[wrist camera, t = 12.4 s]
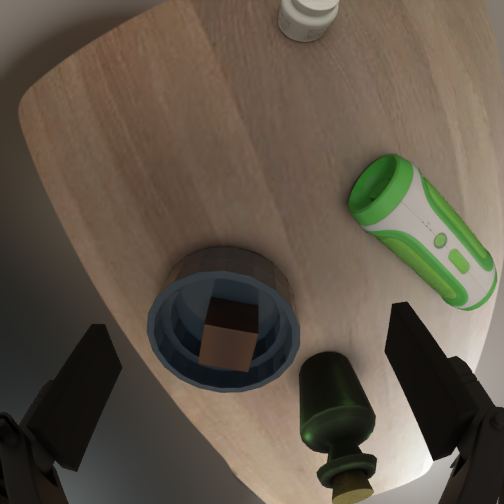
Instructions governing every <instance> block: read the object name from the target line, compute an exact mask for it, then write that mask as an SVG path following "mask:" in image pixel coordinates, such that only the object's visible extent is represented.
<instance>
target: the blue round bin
mask: <svg viewBox="0 0 504 504" xmlns="http://www.w3.org/2000/svg"><path fill="white" fill-rule="evenodd" d="M211 297H215V298H220V299H226V300H231V301H236V302H242V303H247V304H253V305H258V307H259V335H258V339H257V342H256V346H255V350H254V353H253V357H252V360H251V364H250V368H249V371H248V372H243V371H237V370H231V369H225V368H219V367H214V366H208V365H203V364H199V363H198V362H199V355H200V348H201V341H202V334H203V327H204V322H205V318H206V314H207V310H208V306H209V302H210V298H211ZM147 334H148V337H149V341H150V344H151V347H152V350H153V352H154V353H155V355H156V356H157V358H158V359H159V360H160V362H161V363H162V364H163V366H164V367H165V368H166V369H168V370H169V371H170V372H171V373H173V374H174V375H175V376H176V377H178V378H179V379H180V380H182V381H185V382H187V383H189V384H191V385H193V386H195V387H198V388H201V389H206V390H210V391H215V392H221V393H227V392H244V391H248V390H252V389H256V388H260V387H262V386H264V385H266V384H268V383H270V382H271V381H273V380H275V379H277V378H278V377H280V376H281V375H282V374H283V372H284V371H285V370H286V369H287V368H288V367H289V366H290V365H291V364H292V363H293V360H294V358H295V356H296V353H297V351H298V349H299V346H300V325H299V320H298V315H297V310H296V305H295V300H294V296H293V293H292V291H291V288H290V286H289V283H288V281H287V279H286V278H285V276H284V275H283V274H282V273H281V272H280V271H279V270H278V269H277V267H276V266H275V265H274V264H273V263H272V262H270V261H268V260H266V259H265V258H263V257H261V256H260V255H258V254H256V253H254V252H252V251H247V250H243V249H239V248H234V247H216V248H206V249H203V250H201V251H198V252H196V253H193V254H191V255H188V256H187V257H185V258H184V259H183V260H182V261H181V262H180V263H178V264H177V265H176V266H175V267H174V268H173V269H172V270H171V271H170V273H169V275H168V277H167V279H166V281H165V282H164V284H163V286H162V288H161V290H160V292H159V293H158V295H157V297H156V299H155V301H154V303H153V305H152V307H151V309H150V311H149V313H148V323H147Z"/></svg>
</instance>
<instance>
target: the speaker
mask: <svg viewBox="0 0 504 504" xmlns="http://www.w3.org/2000/svg"><path fill="white" fill-rule="evenodd" d="M348 206H349V210H350V212H351V214H352V215H353V217H354V218H355V219H356V221H357V222H358V223H359V225H360V226H361V227H362V228H363V229H364V230H365V231H366V232H367V233H370V234H373V235H374V236H375V237H376V238H377V239H378V240H379V241H380V242H382V243H383V244H384V245H385V246H386V247H387V248H389V249H390V250H391V251H392V252H393V253H394V254H396V255H397V256H398V257H399V258H400V259H401V260H402V261H404V262H405V263H406V264H407V265H409V266H410V267H411V268H412V269H413V270H414V271H415V272H416V273H417V274H418V275H419V276H420V277H421V278H422V279H424V280H425V281H426V282H427V283H428V284H429V285H430V286H431V287H432V288H433V289H434V290H436V291H437V292H438V293H439V294H440V295H441V297H442V298H443V300H444V301H445V302H446V303H448V304H449V305H451V306H453V307H455V308H458V309H461V310H465V311H469V310H474V309H476V308H478V307H480V306H482V305H483V304H484V303H485V302H486V301H487V300H488V299H489V298H490V296H491V295H492V293H493V291H494V289H495V286H496V283H497V272H496V268H495V264H494V261H493V259H492V257H491V255H490V253H489V252H488V251H487V250H486V249H485V248H484V247H483V245H482V244H481V243H480V242H479V240H478V239H477V238H476V236H475V235H474V234H473V233H472V231H471V230H470V229H469V228H468V226H467V225H466V224H465V223H464V221H463V220H462V219H461V218H460V217H459V215H458V214H457V213H456V212H455V211H454V209H453V208H452V207H451V206H450V205H449V204H448V202H447V201H446V200H445V199H444V198H443V197H442V196H441V194H440V193H439V192H438V191H437V190H436V189H435V188H434V187H433V186H432V184H431V183H430V182H429V181H428V180H427V179H426V178H425V177H423V176H422V174H421V172H420V170H419V169H418V168H417V167H416V166H415V165H413V164H412V163H410V162H409V161H407V160H405V159H404V158H402V157H400V156H398V155H395V154H388V155H385V156H383V157H381V158H379V159H378V160H376V161H375V162H374V163H373V164H371V165H370V166H369V167H368V168H367V169H366V170H365V172H364V173H363V174H362V175H361V176H360V178H359V179H358V181H357V182H356V184H355V186H354V188H353V190H352V192H351V194H350V197H349V203H348Z"/></svg>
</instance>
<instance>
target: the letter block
mask: <svg viewBox="0 0 504 504" xmlns="http://www.w3.org/2000/svg"><path fill="white" fill-rule="evenodd" d="M258 335H259V307H258V305H253V304H247V303H242V302H236V301H231V300H226V299H220V298H215V297H211V298H210V302H209V306H208V310H207V314H206V318H205V322H204V327H203V334H202V341H201V348H200V355H199V362H198V363H199V364H203V365H208V366H214V367H219V368H225V369H231V370H237V371H243V372H248V371H249V368H250V364H251V360H252V357H253V353H254V350H255V346H256V342H257V339H258Z"/></svg>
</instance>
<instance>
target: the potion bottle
mask: <svg viewBox="0 0 504 504" xmlns="http://www.w3.org/2000/svg"><path fill="white" fill-rule="evenodd" d="M299 386H300V435H301V439H302V441H303V442H304V443H305V444H306V446H307V447H309V448H310V449H312V450H313V451H315V452H320V453H328V460H327V463H326V464H325V465H323V466H322V467H320V468H319V470H318V471H317V477H318V479H319V481H320V482H321V484H322V485H323V486H324V487H326V488H332V489H333V494H332V503H333V504H353V503H357V502H359V501H362V500H364V499H366V498H368V497H370V496H371V495H372V494H373V489H372V487H371V485H370V483H369V481H368V479H369V478H371V477H372V476H373V475H374V474H375V471H376V463H377V458H376V457H375V456H374V455H371V454H365V453H362V451H361V450H360V448H359V447H358V445H360V444H361V443H363V442H364V441H365V440H367V439H368V438H369V436H370V435H371V433H372V432H373V429H374V426H375V419H376V415H375V413H374V411H373V409H372V407H371V405H370V403H369V400H368V398H367V396H366V394H365V392H364V390H363V388H362V386H361V384H360V382H359V380H358V378H357V376H356V374H355V372H354V369H353V367H352V365H351V363H350V362H349V361H348V359H347V358H346V357H345V356H343V355H340V354H338V353H323V354H319V355H316V356H315V357H313V358H311V359H309V360H308V361H307V362H306V363H305V364H304V365H303V366H302V368H301V371H300V374H299Z"/></svg>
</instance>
